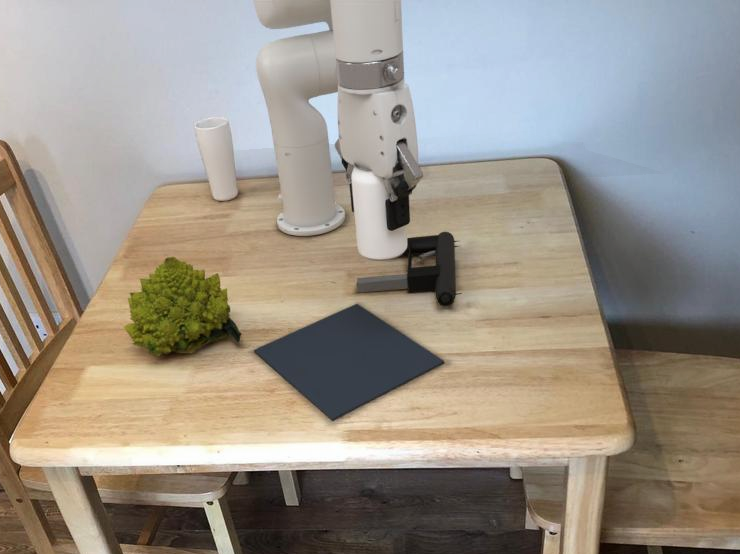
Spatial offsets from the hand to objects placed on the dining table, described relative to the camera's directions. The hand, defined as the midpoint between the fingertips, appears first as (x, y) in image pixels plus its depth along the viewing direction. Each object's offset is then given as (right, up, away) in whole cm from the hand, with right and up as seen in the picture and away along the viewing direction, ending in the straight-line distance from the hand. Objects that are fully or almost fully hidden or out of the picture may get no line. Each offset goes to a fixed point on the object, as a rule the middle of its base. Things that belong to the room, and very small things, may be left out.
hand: (380, 216), depth 96 cm
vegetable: (-27, -15, +17) cm, 35 cm away
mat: (-4, -17, +8) cm, 20 cm away
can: (+1, -4, +3) cm, 5 cm away
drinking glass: (-27, +17, +58) cm, 66 cm away
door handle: (+7, -5, +24) cm, 25 cm away
